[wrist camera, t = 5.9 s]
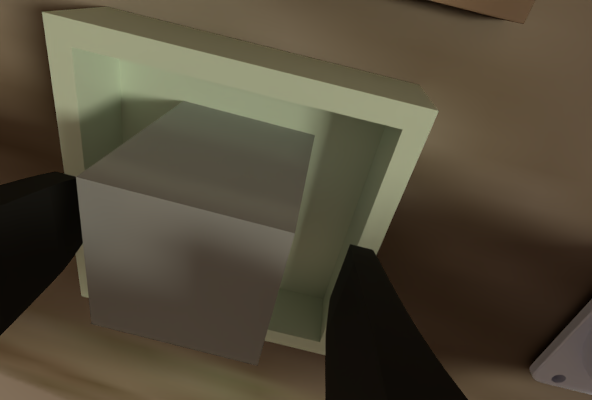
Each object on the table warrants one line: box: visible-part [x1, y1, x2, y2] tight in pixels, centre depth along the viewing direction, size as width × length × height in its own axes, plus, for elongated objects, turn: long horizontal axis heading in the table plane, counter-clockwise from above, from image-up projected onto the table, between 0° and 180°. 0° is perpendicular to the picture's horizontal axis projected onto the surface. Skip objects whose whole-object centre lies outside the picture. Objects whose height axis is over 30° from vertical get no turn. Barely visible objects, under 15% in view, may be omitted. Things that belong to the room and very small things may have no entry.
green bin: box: [42, 7, 438, 355], centre depth 11 cm, size 9×9×2 cm
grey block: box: [76, 101, 315, 365], centre depth 10 cm, size 4×4×5 cm
